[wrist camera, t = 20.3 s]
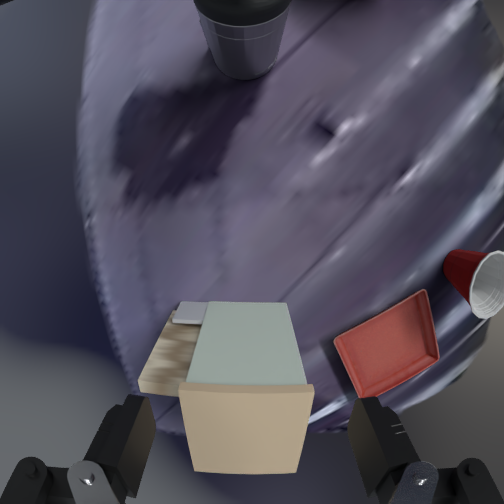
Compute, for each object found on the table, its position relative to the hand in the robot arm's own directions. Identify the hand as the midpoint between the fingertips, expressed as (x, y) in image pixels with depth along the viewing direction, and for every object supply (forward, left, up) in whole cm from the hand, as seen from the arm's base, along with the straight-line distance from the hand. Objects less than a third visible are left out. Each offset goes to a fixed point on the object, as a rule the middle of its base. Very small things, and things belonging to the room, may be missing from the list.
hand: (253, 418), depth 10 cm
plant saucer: (+32, +4, -35) cm, 47 cm away
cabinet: (+11, -15, -34) cm, 39 cm away
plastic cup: (+29, +23, -34) cm, 50 cm away
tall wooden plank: (+3, -16, -34) cm, 38 cm away
